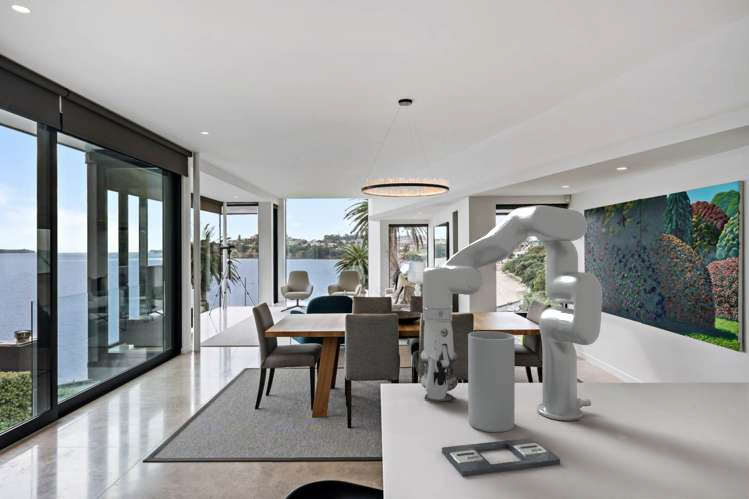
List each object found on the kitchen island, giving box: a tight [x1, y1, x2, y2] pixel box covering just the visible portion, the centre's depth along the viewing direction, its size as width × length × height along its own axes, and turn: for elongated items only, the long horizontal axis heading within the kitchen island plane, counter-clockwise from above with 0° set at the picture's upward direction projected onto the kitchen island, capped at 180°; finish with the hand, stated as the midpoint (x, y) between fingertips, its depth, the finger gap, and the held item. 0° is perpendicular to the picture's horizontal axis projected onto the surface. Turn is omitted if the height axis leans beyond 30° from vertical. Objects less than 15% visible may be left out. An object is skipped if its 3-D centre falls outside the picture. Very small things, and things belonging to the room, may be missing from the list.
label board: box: [441, 437, 561, 478], centre depth 106 cm, size 24×12×2 cm, turn 103°
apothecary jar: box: [420, 349, 459, 405], centre depth 148 cm, size 12×12×18 cm
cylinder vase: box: [467, 330, 516, 434], centre depth 126 cm, size 12×12×25 cm
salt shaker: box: [424, 354, 449, 399], centre depth 117 cm, size 6×6×13 cm
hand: (437, 384), depth 117 cm, fingers closed on salt shaker, 3 cm apart
